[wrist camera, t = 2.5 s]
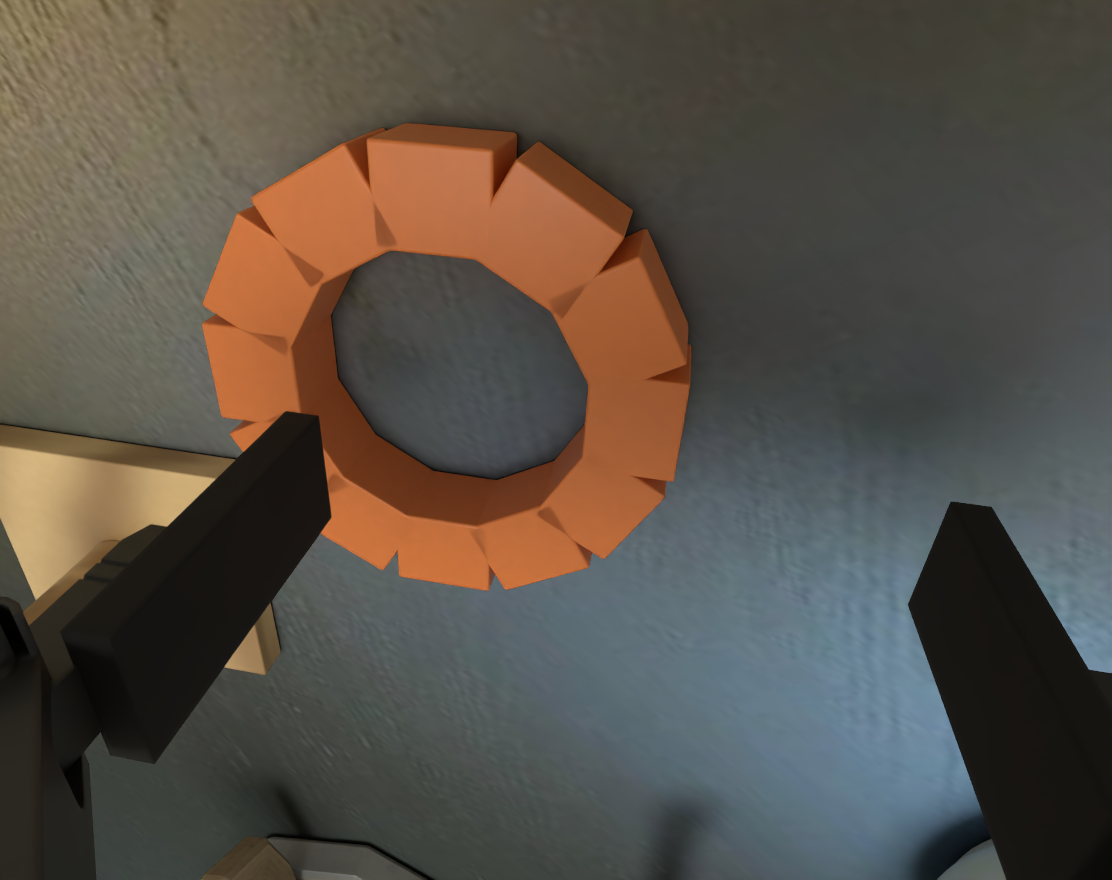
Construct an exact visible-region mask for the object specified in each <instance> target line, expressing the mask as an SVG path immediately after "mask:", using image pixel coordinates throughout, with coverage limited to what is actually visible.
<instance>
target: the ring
mask: <svg viewBox="0 0 1112 880" xmlns="http://www.w3.org/2000/svg"><path fill="white" fill-rule="evenodd" d="M251 201H252V202H253V204H254V205H255V206H252V207H250V208H248V209H246V210H244V211H241V212H239V213H237V215H236V217H235V220H234V223H233V225H232V228H231V230H230V233H229V236H228V238H227V241H226V244H225V246H224V249H223V251H222V254H221V257H220V259H219V262H218V265H217V267H216V270H215V272H214V275H213V278H212V280H211V283H210V286H209V288H208V291H207V293H206V296H205V299H204V301H203V306H204V307H206V308H208V309H209V310H211V311H212V312H214V313H215V314H216V315H214V316H213V317H211V318H210V319H208V320H207V321H205V322H203V324H202V327H203V332H204V336H205V341H206V346H207V350H208V355H209V360H210V364H211V369H212V374H213V378H214V383H215V388H216V392H217V397H218V402H219V407H220V411H221V415H222V417H224V418H231V419H238V420H244V421H243V422H242V423H241V424H240V425H238V426H237V427H236V428H235V429H234V430H233V431H232V432H231V433H230V436H231V437H232V438H233V439H234V441H235V442H236V443H237V445H238V446H239V447H240V449H241V450H242V451H243V452H244V451H245V450H246V449H247V448H248V447H249V446H250V445H251V444H252V443H253V442H254V441H255V440H256V439H257V438H258V437H260V436H261V435H262V434H263V433H264V432H265V431H266V430H267V429H268V428H269V427H270V426H271V425H272V424H273V423H274V422H275V421H276V420H277V419H278V418H279V417H280V416H281V415H282V414H283V413H284V412H285V411H289V412H296V413H304V414H311V415H318V416H319V420H320V428H321V436H322V444H323V452H324V460H325V468H326V476H327V484H328V491H329V499H330V507H331V515H332V518H331V519H330V520H329V522H328V523H327V525H326V526H325V527H324V529H323V530H322V532H321V533H320V534H322V535H324V536H325V537H327V538H329V539H330V540H332V541H334V542H336V543H337V544H339V545H341V546H342V547H344V548H346V549H347V550H349V551H351V552H352V553H354V554H356V555H357V556H359V557H361V558H362V559H364V560H366V561H367V562H369V563H371V564H372V565H374V566H376V567H377V568H379V569H381V570H384V569H385V567H386V566H387V565H388V563H389V562H390V561H391V559H392V558H393V556H394V555H395V554H396V552H397V551H398V564H399V575H400V576H401V577H406V578H412V579H418V580H424V581H430V582H437V583H443V584H449V585H455V586H461V587H467V588H473V589H479V590H485V591H488V590H489V589H490V586H491V583H492V581H493V578H494V575H496V576H497V578H498V579H499V581H500V582H501V584H502V586H503V587H504V589H506V590H508V589H512V588H516V587H519V586H523V585H527V584H530V583H534V582H538V581H541V580H545V579H549V578H552V577H556V576H560V575H563V574H567V573H571V572H575V571H578V570H582V569H586V568H588V567H589V566H590V561H591V556H592V552H593V553H594V554H596V555H597V556H599V557H601V558H602V559H605V558H606V557H607V556H608V555H609V554H610V553H611V552H612V551H613V550H614V549H615V548H616V547H617V546H618V545H619V544H620V543H621V542H622V541H623V540H624V539H625V538H626V537H627V536H628V535H629V533H630V532H631V531H632V530H633V529H634V528H635V527H636V526H637V525H638V524H639V523H640V522H641V521H642V520H643V519H644V518H645V517H646V516H647V515H648V514H649V513H650V512H651V511H652V510H653V509H654V508H655V507H656V506H657V505H658V504H659V503H660V502H661V501H662V500H663V499H664V498H665V491H666V481H671V482H673V481H674V478H675V473H676V467H677V461H678V455H679V449H680V443H681V438H682V432H683V426H684V420H685V414H686V408H687V402H688V397H689V391H690V380H691V349H692V347H691V345H688V322H687V320H686V318H685V315H684V313H683V311H682V308H681V306H680V304H679V301H678V299H677V297H676V294H675V292H674V290H673V287H672V285H671V283H670V280H669V278H668V276H667V273H666V271H665V269H664V267H663V264H662V262H661V260H660V257H659V255H658V253H657V250H656V248H655V246H654V243H653V241H652V239H651V236H650V234H649V232H648V230H647V229H643V230H641V231H638V232H636V233H634V234H632V235H629V236H627V237H625V234H626V231H627V228H628V225H629V222H630V219H631V216H632V213H633V211H632V209H630V208H629V207H628V206H626V205H625V204H624V203H622V202H621V201H619V200H618V199H617V198H615V197H614V196H613V195H611V194H610V193H609V192H607V191H606V190H605V189H603V188H602V187H600V186H599V185H598V184H596V183H595V182H594V181H592V180H591V179H590V178H588V177H587V176H585V175H584V174H583V173H581V172H580V171H579V170H577V169H576V168H575V167H573V166H572V165H571V164H569V163H568V162H566V161H565V160H564V159H562V158H561V157H560V156H558V155H557V154H556V153H554V152H553V151H551V150H550V149H549V148H547V147H546V146H545V145H543V144H542V143H541V142H536V143H535V144H534V145H533V146H532V147H531V148H529V149H528V150H527V151H526V152H525V153H523V154H522V155H521V156H520V157H519V158H518V159H517V135H516V133H514V132H504V131H493V130H481V129H470V128H459V127H448V126H436V125H425V124H414V123H404V124H402V125H399V126H397V127H395V128H392V129H390V130H387V131H386V130H385V129H384V128H380V129H377V130H375V131H372V132H370V133H367V134H365V135H362V136H360V137H357V138H355V139H352V140H350V141H347V142H344V143H342V144H340V145H339V146H337V147H335V148H333V149H332V150H330V151H328V152H327V153H325V154H323V155H322V156H320V157H318V158H316V159H315V160H313V161H311V162H310V163H308V164H306V165H305V166H303V167H301V168H299V169H298V170H296V171H294V172H293V173H291V174H289V175H288V176H286V177H284V178H282V179H281V180H279V181H277V182H276V183H274V184H272V185H271V186H269V187H267V188H266V189H264V190H262V191H260V192H259V193H257V194H255V195H254V196H252V198H251ZM624 237H625V238H624ZM390 250H392V251H402V252H411V253H420V254H429V255H438V256H447V257H456V258H465V259H474V260H477V261H478V262H480V263H481V264H483V265H484V266H486V267H487V268H489V269H490V270H491V271H493V272H494V273H496V274H497V275H499V276H500V277H502V278H503V279H504V280H506V281H507V282H509V283H510V284H512V285H513V286H515V287H516V288H517V289H519V290H520V291H522V292H523V293H525V294H526V295H528V296H529V297H530V298H532V299H533V300H535V301H536V302H538V303H539V304H541V305H542V306H543V307H545V308H546V309H548V310H549V311H551V312H552V314H553V316H554V318H555V320H556V322H557V324H558V326H559V328H560V330H561V332H562V334H563V336H564V338H565V340H566V342H567V344H568V346H569V348H570V350H571V352H572V353H573V355H574V357H575V359H576V361H577V363H578V365H579V367H580V369H581V371H582V373H583V375H584V377H585V379H586V381H587V383H588V395H587V407H586V418H585V424H584V426H583V427H582V428H581V429H580V430H579V432H578V433H577V434H576V435H575V436H574V438H573V439H572V440H571V441H570V443H569V444H568V445H567V446H566V447H565V449H564V450H563V451H562V452H561V453H560V455H559V456H558V457H557V458H556V460H555V461H552V462H549V463H547V464H544V465H541V466H538V467H535V468H532V469H529V470H526V471H523V472H520V473H517V474H514V475H511V476H508V477H505V478H502V479H499V480H492V479H485V478H478V477H471V476H465V475H458V474H451V473H444V472H437V471H433V470H431V469H429V468H428V467H426V466H425V465H423V464H422V463H420V462H418V461H417V460H415V459H414V458H412V457H410V456H409V455H407V454H406V453H404V452H402V451H401V450H399V449H398V448H396V447H394V446H393V445H391V444H390V443H388V442H387V441H385V440H383V439H382V438H380V437H379V436H377V435H376V434H375V433H374V431H373V430H372V428H371V427H370V425H369V424H368V422H367V421H366V419H365V418H364V416H363V415H362V413H361V412H360V410H359V409H358V407H357V406H356V404H355V403H354V401H353V400H352V399H351V397H350V396H349V394H348V393H347V391H346V390H345V388H344V387H343V385H342V384H341V382H340V381H339V379H338V375H337V366H336V357H335V348H334V340H333V331H332V322H331V314H332V312H333V310H334V308H335V306H336V304H337V302H338V300H339V298H340V296H341V294H342V292H343V290H344V288H345V286H346V284H347V282H348V280H349V278H350V276H351V274H352V272H353V270H354V268H356V267H358V266H360V265H362V264H364V263H366V262H368V261H370V260H372V259H374V258H376V257H378V256H380V255H382V254H384V253H386V252H388V251H390Z"/></svg>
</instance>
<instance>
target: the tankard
mask: <svg viewBox="0 0 1112 880" xmlns="http://www.w3.org/2000/svg"><path fill="white" fill-rule="evenodd" d="M200 880H428V879H426V878H424V877H423V876H421V875H419V874H417V873H416V872H414V871H412V870H410V869H409V868H407V867H405V866H403V865H402V864H400V863H398V862H396V861H395V860H393V859H391V858H389V857H388V856H386V855H384V854H382V853H381V852H379V851H377V850H375V849H373V848H372V847H370V846H368V845H358V844H347V843H337V842H326V841H316V840H305V839H295V838H285V837H271V838H268V839H266V838H261V837H250V836H247V837H246V838H245V839H243V840H242V841H241V842H240V843H239V844H238V845H237V846H236V847H234V848H233V849H232V850H231V851H230V852H229V853H228V854H227V855H226V856H224V857H223V858H222V859H221V860H220V861H219V862H218V863H217V864H215V865H214V866H213V867H212V868H211V869H210V870H209V871H208V872H206V873H205V874H204V875H203V877H202V878H201V879H200Z"/></svg>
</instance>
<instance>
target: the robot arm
mask: <svg viewBox="0 0 1112 880" xmlns="http://www.w3.org/2000/svg"><path fill="white" fill-rule="evenodd" d="M331 518H332V515H331V507H330V499H329V491H328V484H327V476H326V468H325V460H324V452H323V444H322V436H321V428H320V420H319V416H318V415H311V414H304V413H296V412H289V411H285V412H284V413H283V414H282V415H281V416H280V417H279V418H278V419H277V420H276V421H275V422H274V423H273V424H272V425H271V426H270V427H269V428H268V429H267V430H266V431H265V432H264V433H263V434H262V435H261V436H260V437H258V438H257V439H256V440H255V441H254V442H253V443H252V444H251V445H250V446H249V447H248V448H247V449H246V450H245V451H244V452H243V453H242V454H241V455H240V456H239V457H238V458H237V459H236V460H235V461H234V462H233V463H232V464H231V465H230V466H229V467H228V468H227V469H226V470H225V471H224V472H223V473H222V474H221V475H220V476H218V477H217V478H216V479H215V480H214V481H213V482H212V483H211V484H210V485H209V486H208V487H207V488H206V489H205V490H204V491H203V492H202V493H201V494H200V495H199V496H198V497H197V498H196V499H195V500H194V501H193V502H192V503H191V504H190V505H189V506H188V507H187V508H186V509H185V510H184V511H183V512H182V513H181V514H180V515H178V516H177V517H176V518H175V519H174V520H173V521H172V522H171V523H170V524H169V525H168V526H167V527H166V526H160V525H154V524H150V525H148V526H147V527H145V528H143V529H141V530H139V531H137V532H135V533H133V534H132V535H130V536H128V537H126V538H124V539H122V540H121V541H120V542H119V543H118V544H117V545H116V546H115V547H114V548H113V549H111V550H110V551H109V552H108V553H107V554H106V555H105V556H104V557H103V558H102V559H101V562H100V563H96V564H95V565H94V566H93V567H92V568H91V569H90V570H89V571H88V572H87V573H85V574H84V578H83V579H79V580H78V581H77V582H76V583H75V584H73V585H72V586H71V587H70V588H69V589H68V590H67V591H66V592H65V593H64V594H63V595H62V596H60V597H59V598H58V599H57V600H56V601H55V602H54V603H53V604H52V605H51V606H50V607H49V608H47V609H46V610H45V611H44V612H43V613H42V614H41V615H40V616H39V617H38V618H37V619H36V620H34V621H33V622H32V623H31V624H30V625H28V622H27V620H26V618H25V616H24V613H23V611H22V609H21V606H20V604H19V603H18V602H16V601H14V600H12V599H10V598H8V597H0V880H96V866H95V851H94V835H93V819H92V803H91V787H90V772H89V763H88V761H87V758H86V756H85V753H84V751H85V750H86V749H87V747H88V746H89V745H90V744H91V743H92V741H93V740H94V739H95V738H96V737H97V735H98V734H99V733H100V732H101V734H102V736H103V739H104V741H105V744H106V746H107V749H108V751H109V753H110V755H111V756H117V757H122V758H127V759H132V760H137V761H142V762H147V763H152V764H155V762H156V761H157V760H158V758H159V757H160V756H161V754H162V753H163V751H164V750H165V749H166V747H167V746H168V744H169V743H170V742H171V740H172V739H173V737H174V736H175V735H176V733H177V732H178V730H179V729H180V728H181V726H182V725H183V724H184V722H185V721H186V719H187V718H188V717H189V715H190V714H191V712H192V711H193V710H194V708H195V707H196V705H197V704H198V703H199V701H200V700H201V698H202V697H203V696H204V694H205V693H206V692H207V690H208V689H209V687H210V686H211V685H212V683H213V682H214V680H215V679H216V678H217V676H218V675H219V673H220V672H221V671H222V669H223V668H224V666H225V665H226V664H227V662H228V661H229V660H230V658H231V657H232V655H233V654H234V653H235V651H236V650H237V648H238V647H239V646H240V644H241V643H242V641H243V640H244V639H245V637H246V636H247V634H248V633H249V632H250V630H251V629H252V628H253V626H254V625H255V623H256V622H257V621H258V619H259V618H260V616H261V615H262V614H263V612H264V611H265V609H266V608H267V607H268V605H269V604H270V602H271V601H272V600H273V598H274V597H275V596H276V594H277V593H278V591H279V590H280V589H281V587H282V586H283V584H284V583H285V582H286V580H287V579H288V577H289V576H290V575H291V573H292V572H293V571H294V569H295V568H296V566H297V565H298V564H299V562H300V561H301V559H302V558H303V557H304V555H305V554H306V552H307V551H308V550H309V548H310V547H311V545H312V544H313V543H314V541H315V540H316V539H317V537H318V536H319V534H320V533H321V532H322V530H323V529H324V527H325V526H326V525H327V523H328V522H329V520H330V519H331ZM908 606H909V609H910V612H911V615H912V618H913V620H914V623H915V626H916V629H917V632H918V634H919V637H920V640H921V643H922V646H923V648H924V651H925V654H926V657H927V660H928V662H929V665H930V668H931V671H932V673H933V676H934V679H935V682H936V685H937V687H938V690H939V693H940V696H941V699H942V701H943V704H944V707H945V710H946V713H947V715H948V718H949V721H950V724H951V727H952V729H953V732H954V735H955V738H956V741H957V743H958V746H959V749H960V752H961V755H962V757H963V760H964V763H965V766H966V769H967V771H968V774H969V777H970V780H971V782H972V785H973V788H974V791H975V794H976V796H977V799H978V802H979V805H980V808H981V810H982V813H983V816H984V819H985V822H986V824H987V827H988V830H989V833H990V836H991V838H992V841H993V844H994V847H995V850H996V852H997V855H998V858H999V861H1000V864H1001V866H1002V869H1003V872H1004V875H1005V878H1006V880H1112V673H1106V672H1099V671H1093V670H1089V669H1088V668H1087V666H1086V664H1085V663H1084V661H1083V659H1082V657H1081V656H1080V654H1079V652H1078V651H1077V649H1076V647H1075V646H1074V644H1073V642H1072V641H1071V639H1070V637H1069V636H1068V634H1067V632H1066V631H1065V629H1064V627H1063V626H1062V624H1061V622H1060V621H1059V619H1058V617H1057V616H1056V614H1055V612H1054V611H1053V609H1052V607H1051V606H1050V604H1049V602H1048V601H1047V599H1046V597H1045V596H1044V594H1043V592H1042V591H1041V589H1040V587H1039V585H1038V584H1037V582H1036V580H1035V579H1034V577H1033V575H1032V574H1031V572H1030V570H1029V569H1028V567H1027V565H1026V564H1025V562H1024V560H1023V559H1022V557H1021V555H1020V554H1019V552H1018V550H1017V549H1016V547H1015V545H1014V544H1013V542H1012V540H1011V539H1010V537H1009V535H1008V534H1007V532H1006V530H1005V529H1004V527H1003V525H1002V524H1001V522H1000V520H999V519H998V517H997V515H996V513H995V512H994V510H993V508H992V507H988V506H981V505H973V504H966V503H959V502H950V504H949V507H948V509H947V512H946V514H945V517H944V519H943V521H942V524H941V526H940V529H939V531H938V533H937V536H936V538H935V541H934V543H933V545H932V548H931V550H930V553H929V555H928V558H927V560H926V562H925V565H924V567H923V570H922V572H921V574H920V577H919V579H918V582H917V584H916V586H915V589H914V591H913V594H912V596H911V598H910V601H909V603H908Z"/></svg>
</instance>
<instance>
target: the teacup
mask: <svg viewBox="0 0 1112 880" xmlns="http://www.w3.org/2000/svg"><path fill="white" fill-rule="evenodd" d="M937 880H1006V878H1005V875H1004V872H1003V869H1002V866H1001V864H1000V861H999V858H998V855H997V852H996V850H995V847H994V844H993V841H992V839H990V840H987V841H985V842H983V843H981V844H979V845H978V846H976V847H974V848H972V849H971V850H970V851H968V852H967V853H966V854H965V855H964V856H962V857H961V858H960V859H959V860H958V861H957V862H956V863H955V864H954V865H952V866H951V867H950V868H949V869H947V870H946V871H945V872H944V873H943V874H942V875H941V876H940V877H939V878H938V879H937Z"/></svg>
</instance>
